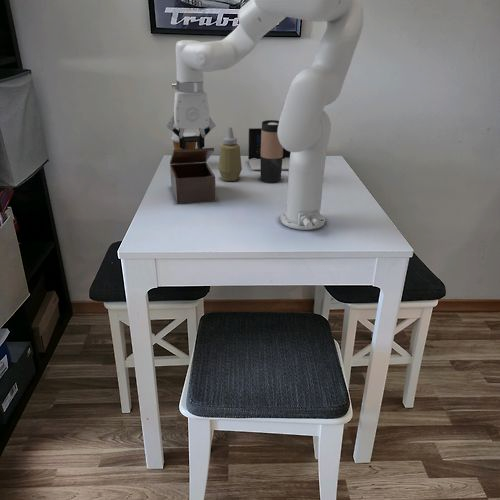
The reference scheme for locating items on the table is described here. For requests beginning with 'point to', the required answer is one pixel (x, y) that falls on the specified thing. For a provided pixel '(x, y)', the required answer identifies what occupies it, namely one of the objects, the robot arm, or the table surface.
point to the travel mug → (270, 152)
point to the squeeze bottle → (230, 158)
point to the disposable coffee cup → (190, 144)
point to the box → (192, 182)
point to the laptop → (255, 150)
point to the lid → (191, 152)
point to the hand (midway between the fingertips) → (192, 149)
